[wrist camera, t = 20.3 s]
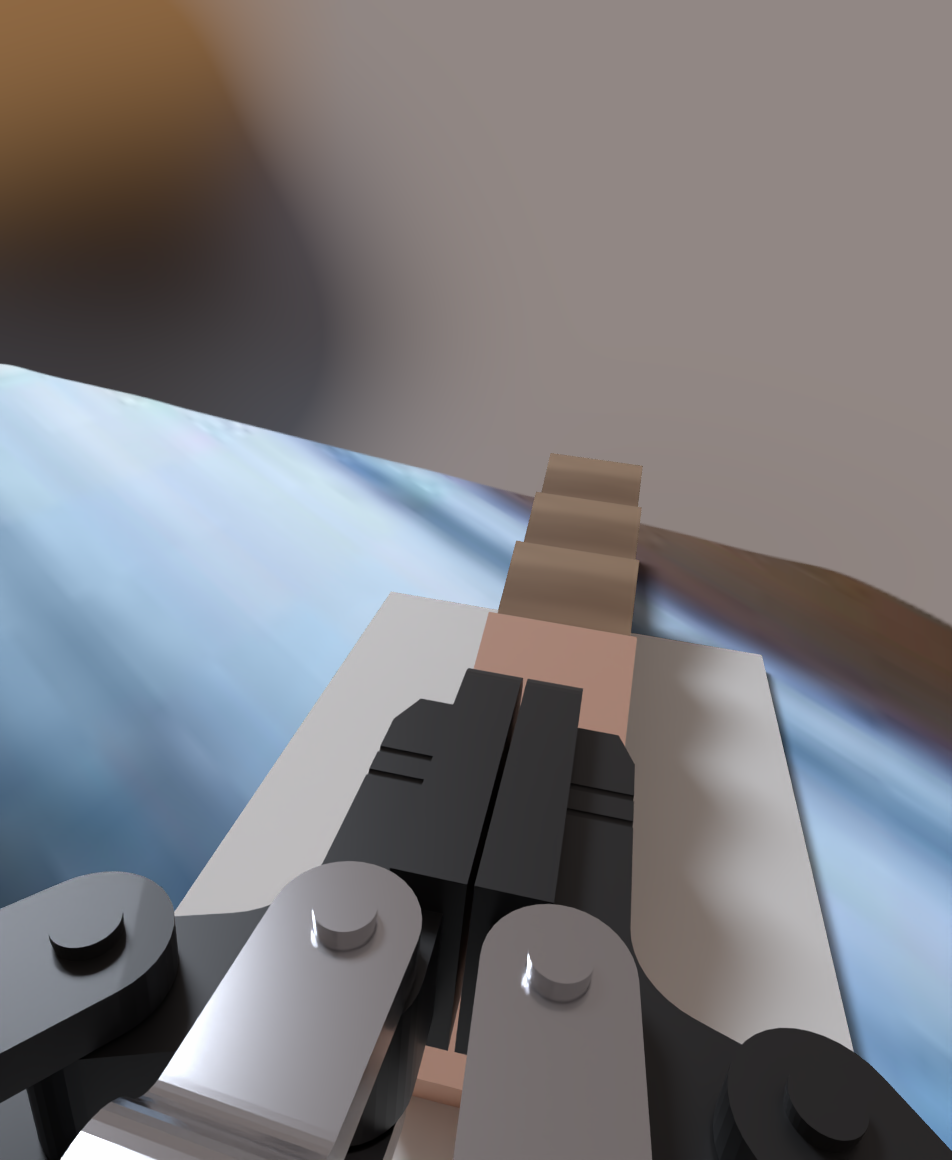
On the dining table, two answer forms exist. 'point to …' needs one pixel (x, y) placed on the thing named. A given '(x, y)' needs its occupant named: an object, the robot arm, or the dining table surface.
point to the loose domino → (604, 708)
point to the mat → (660, 825)
